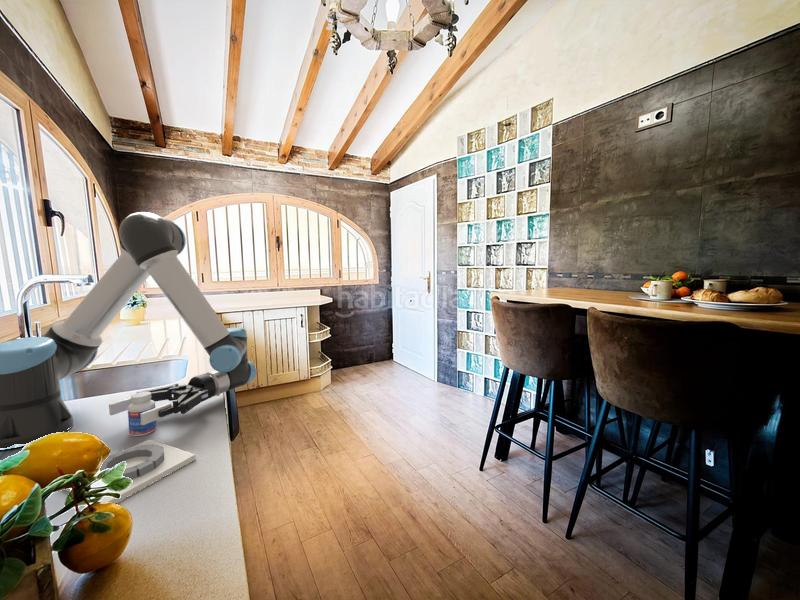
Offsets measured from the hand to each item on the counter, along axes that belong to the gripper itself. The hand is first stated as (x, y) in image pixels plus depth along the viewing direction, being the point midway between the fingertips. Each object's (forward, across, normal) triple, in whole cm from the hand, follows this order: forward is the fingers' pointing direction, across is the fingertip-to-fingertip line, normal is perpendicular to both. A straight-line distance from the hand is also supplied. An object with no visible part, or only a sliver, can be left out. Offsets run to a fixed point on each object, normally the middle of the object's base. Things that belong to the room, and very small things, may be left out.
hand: (125, 414), depth 78 cm
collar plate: (+7, -16, -6) cm, 19 cm away
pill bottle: (-4, 0, -6) cm, 7 cm away
